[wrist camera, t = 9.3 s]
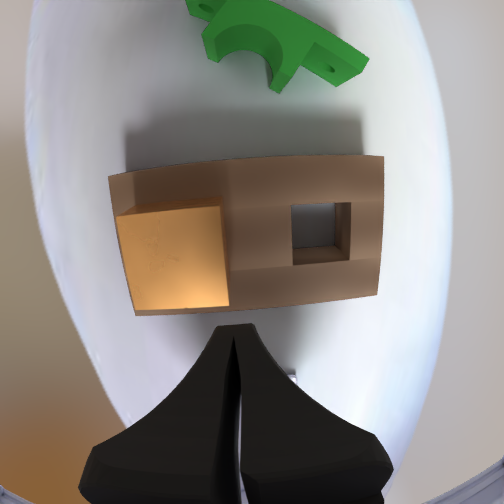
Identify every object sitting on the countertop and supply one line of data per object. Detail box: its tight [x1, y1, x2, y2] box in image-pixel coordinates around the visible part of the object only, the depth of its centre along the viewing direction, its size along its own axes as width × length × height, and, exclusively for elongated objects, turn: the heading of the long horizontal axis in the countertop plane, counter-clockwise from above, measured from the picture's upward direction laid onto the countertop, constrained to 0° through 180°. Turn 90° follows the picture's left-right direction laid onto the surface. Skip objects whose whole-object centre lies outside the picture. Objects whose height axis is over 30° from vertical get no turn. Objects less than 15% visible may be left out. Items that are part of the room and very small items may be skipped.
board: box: [108, 155, 384, 316], centre depth 18 cm, size 9×16×3 cm, turn 94°
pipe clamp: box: [185, 0, 369, 93], centre depth 14 cm, size 11×4×5 cm, turn 61°
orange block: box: [116, 196, 230, 310], centre depth 17 cm, size 5×5×6 cm
